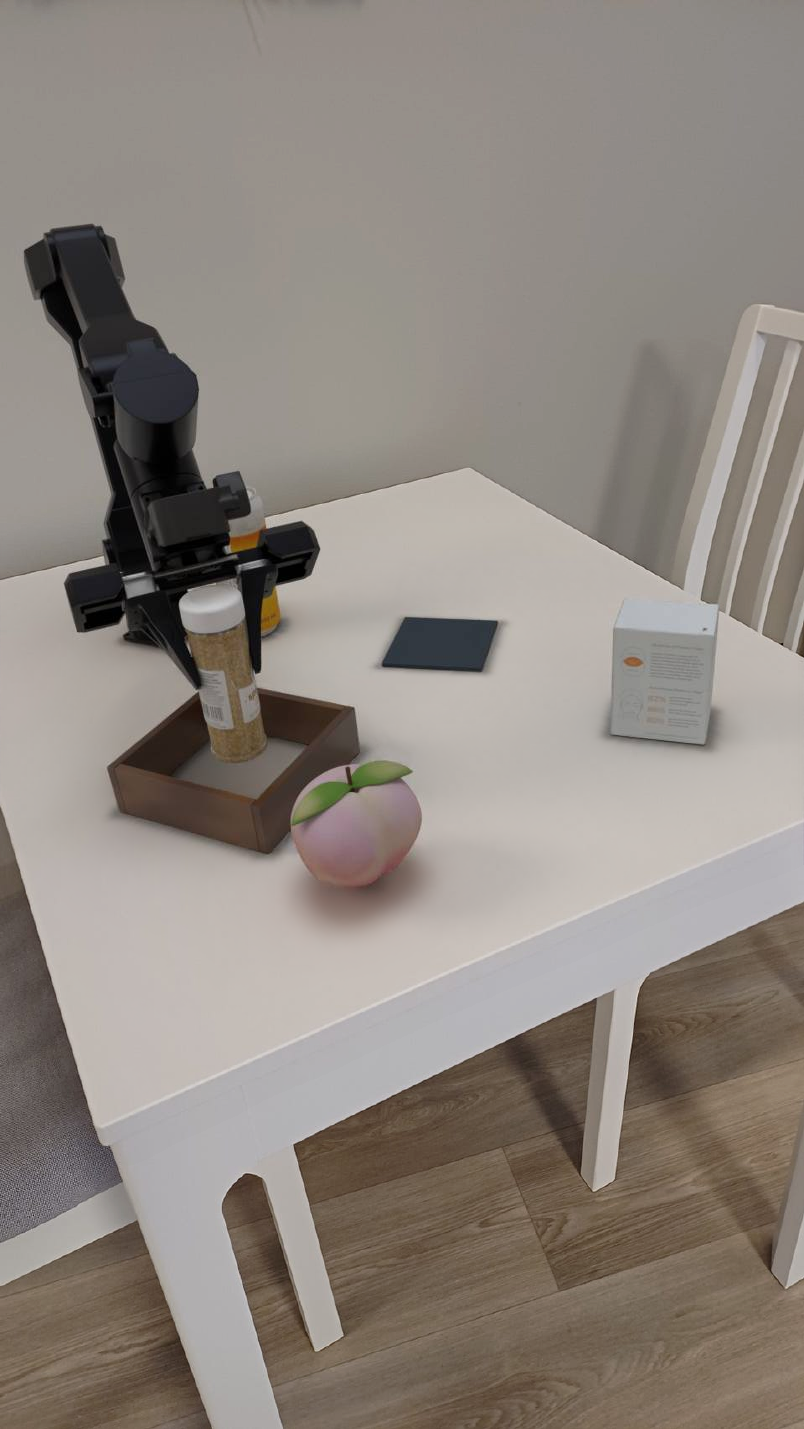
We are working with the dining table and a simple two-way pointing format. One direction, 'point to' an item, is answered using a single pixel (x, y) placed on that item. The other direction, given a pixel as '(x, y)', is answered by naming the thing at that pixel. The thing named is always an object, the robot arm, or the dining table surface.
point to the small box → (663, 669)
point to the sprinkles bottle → (224, 671)
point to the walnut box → (220, 812)
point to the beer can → (247, 537)
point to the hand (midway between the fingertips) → (228, 680)
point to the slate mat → (441, 644)
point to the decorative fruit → (356, 822)
